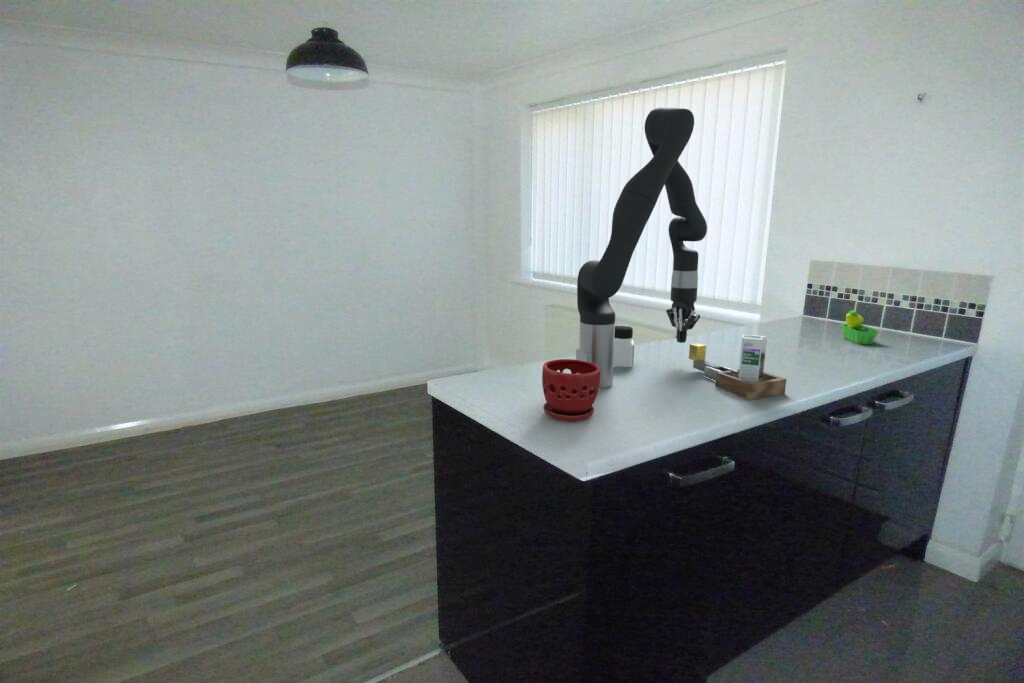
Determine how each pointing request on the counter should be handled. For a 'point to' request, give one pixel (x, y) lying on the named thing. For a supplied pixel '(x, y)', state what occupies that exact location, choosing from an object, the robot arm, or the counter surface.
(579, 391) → the plant pot
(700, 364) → the lock pin
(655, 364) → the counter surface
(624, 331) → the medicine bottle
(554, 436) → the counter surface
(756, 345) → the syrup box
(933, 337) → the counter surface
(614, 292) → the robot arm
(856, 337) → the fruit basket
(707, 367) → the pin guide
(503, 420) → the counter surface
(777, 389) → the wooden tray
